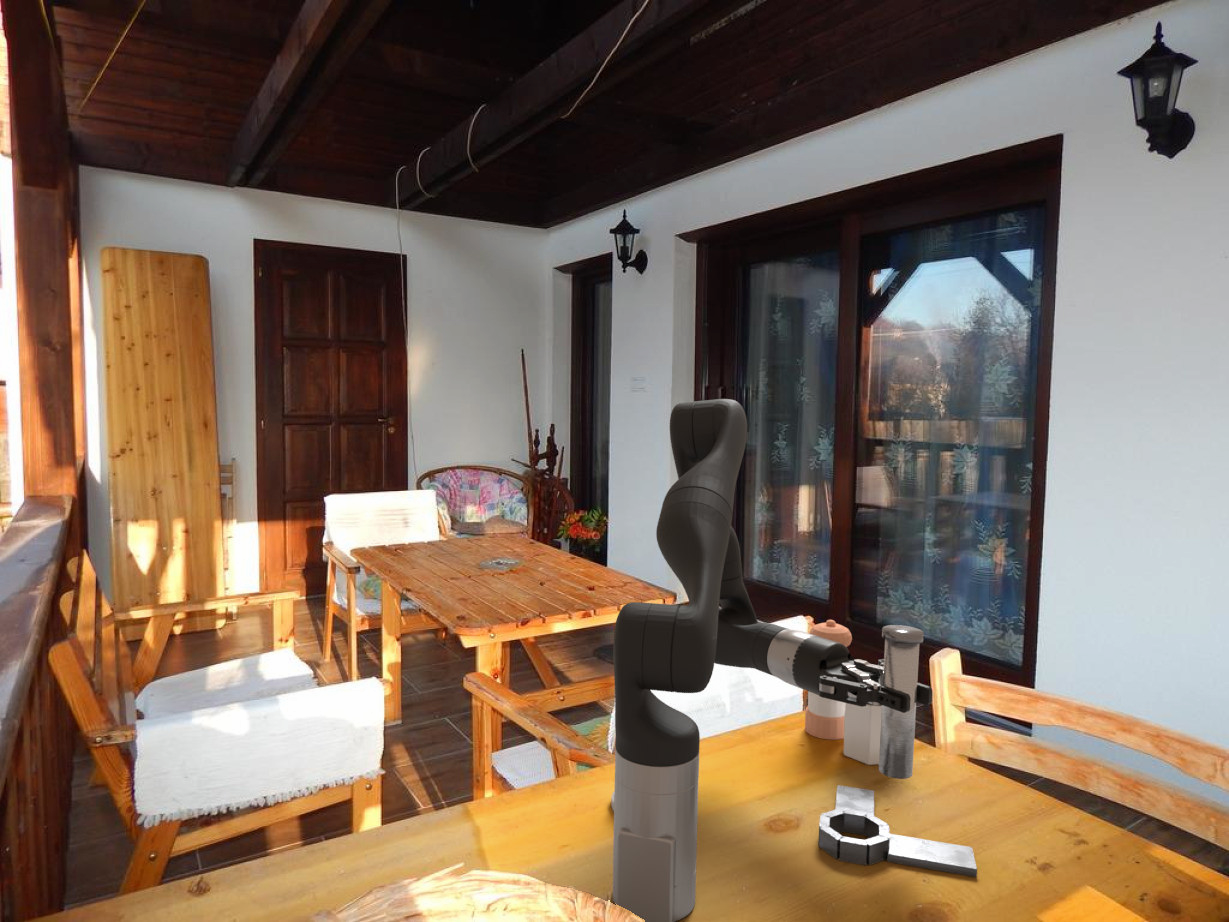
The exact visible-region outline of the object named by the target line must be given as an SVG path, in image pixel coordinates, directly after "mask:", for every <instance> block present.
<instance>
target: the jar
mask: <svg viewBox="0 0 1229 922" xmlns="http://www.w3.org/2000/svg"><path fill="white" fill-rule="evenodd" d="M878 684H880V679H879V683H878ZM881 712H882V705H881V704H879V705H872V704H870V703H868V702H866V706H864V707H860V706H857V705H853V704H848V703H845V714H844V738H843V756H845V757H848V758H850V759H853V760H855V761H857V762H861V763H863V764H865V765H867V766H872V765H874V766H875V765H879V751H880V731H881Z"/></svg>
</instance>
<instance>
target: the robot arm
mask: <svg viewBox="0 0 1229 922" xmlns="http://www.w3.org/2000/svg"><path fill="white" fill-rule="evenodd" d="M747 434H748V421H747V415H746V411H745V410H744V408H743V406H742V405H741V403H739V402H738V401H736V400H734V399H730V398H729V399H728V398H717V399H708V400H707V399H706V400H698V401H696V400H695V401H687V402H681V403H677V404H676V405H675V406H674V407H673V409H672V410H671V413H670V417H669V438H670V445H671V451H672V456H673V461H674V466H675V469H676V475H677V478H678V479H677V480H676V481H675V482H674V483H673V484H672V485H671V486H670V488H669V490H668V491H667V492H666V494H665V496H664V499H663V502H662V505H661V509H660V513H659V517H658V520H657V526H656V530H655V531H656V533H655V535H656V542H657V545H658V548H659V550H660V553H661V554H662V556H663V558H664V560H665V562H666V564H667V566H669V568H670V569H671V571H672V572H673V573H674V575H675V576H676V578H677V580H679V582H680V584H681V585H682V587H683V589H684V592H685V594H686V596H687V598H688V602H689V603H688V604H687V605H686V604H685V605H683V604H682V605H680V604H679V605H678V604H667V603H655V602H654V603H652V602H639V601H638V602H636V601H633V602H631V601H630V602H628V603H626V604H625V605H624V606H622V607H621V609H620V610H619V612H618V615H617V618H616V621H615V625H614V630H613V642H612V643H613V645H612V646H613V648H612V649H613V652H612V653H613V676H614V726H615V727H614V729H615V741H614V742H615V746H614V747H615V748H614V749H615V750H614V751H615V754H614V755H615V759H614V791H615V793H614V811H613V842H612V843H613V846H612V847H613V848H612V849H613V852H612V853H613V854H612V855H613V857H612V900H613V904H614V903H616V904H617V905H619V906H621V907H623V908H625V909H627V910H629V911H631V912H632V913H634V914H635V915H637V916H639V917H640V918H642V919H644V920H645V922H677V921H679V920H682V919H684V918H685V917H686V916H688V915H689V914H691V912H692V911H693V910H694V907H695V904H696V893H697V892H696V888H697V887H696V886H697V885H696V884H697V851H698V850H697V849H698V848H697V847H698V846H697V845H698V811H699V810H698V809H699V808H698V806H699V805H698V804H699V773H700V770H699V769H700V741H701V740H700V739H701V738H700V730H699V727H698V725H697V723H696V722H695V720H694V719H692V717H690V716H689V715H687V714H685V713H684V712H682V711H679V710H678V709H677V708H674V707H671V706H670V705H668V704H667V703H665V702H664V701H662V700H661V699H660V698H658V697H657V696H656V694H654V693H653V692H652V691H656V692H657V691H660V692H669V693H679V694H696V693H701V692H702V691H704V690H705V689H706V688H707V686H708V685H709V683H710V681H711V679H712V676H713V672H714V668H715V665H720V666H726V667H735V668H743V669H755V670H757V671H759V672H762V673H765V674H768V675H770V676H773V677H775V678H777V679H779V680H781V681H782V682H785V683H787V684H789V685H790V686H794V687H797V688H798V689H801V690H804V691H807V692H808V691H809V692H811V693H814V694H817V695H819V696H820V697H823V698H827V699H831V700H836V701H840V702H844V703H848V704H853V705H857V706H860V707H864V706H866V702H868V703H870V704H872V705H879V704H881V705H883V706H886V707H889V708H892V709H894V710H897V711H900V712H902V713H905V712H908V711H909V710H910V700H911V698H910V696H909V694H907V693H904V692H901V691H898V690H895V689H892V688H889V687H886V686H883V673H884V658H882V659H878V664H872V663H870V662H868V661H867V660H863V659H858V658H857V659H854V658H853V656H852V654H851V653H850V650H849V649H848V646H847V647H846V646H844V645H843V644H841V643H838V642H835V641H832V640H828V639H825V638H822V637H819V636H816V635H812V634H809V633H810V632H805V631H803V630H796V629H789V628H786V627H783V626H780V625H776V624H775V623H770V622H758V618H757V616H756V615H757V614H756V612H755V610H754V607H753V604H752V602H751V599H750V596H749V594H748V591H747V588H746V586H745V583H744V581H743V580H744V577H743V568H742V567H743V566H742V558H741V548H740V543H739V540H738V536H737V533H736V532H735V530H734V528H733V526H732V521H733V512H734V502H735V501H734V499H735V493H736V492H735V491H736V486H737V485H736V483H737V480H738V477H739V472H740V468H741V465H742V461H743V457H744V453H745V449H746V444H747V440H748V439H747ZM879 679H880V684H878V683H879ZM932 702H933V688H932V687H931V686H929V685H926V684H922V683H920V682H917V698H916V703H918V704H921V705H925V706H927V705H930V704H932Z"/></svg>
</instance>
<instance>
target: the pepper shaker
mask: <svg viewBox="0 0 1229 922" xmlns="http://www.w3.org/2000/svg"><path fill="white" fill-rule="evenodd" d="M808 633H809V634H812V635H816V636H819V637H822V638H825V639H828V640H832V641H835V642H838V643H841V644H843V645H844V646H846V647H847V648H848V647H849V646H850V645H851V643H852V640H853V637H852V636H853V635H852V633H851V631H850V629H849V628H848V627H845V626H844V625H842V624H839V623H836V621H835V620H833V619H827V620H826V622H821V623H817V624H814V625H813V626H812V627H811V628H810V630H809V632H808ZM807 692H808V693H807V695H808V697H807V698H808V699H807V704H808V705H807V706H806V708H805V713H804V714H805V716H804V719H805V720H804V730H805V732H806V733H807V734H808V735H810V736H813V737H815V738H819V739H823V740H832V741H833V740H842V739H843V740H844V714H845V703H844V702H840V701H836V700H831V699H827V698H823V697H820V696H819V695H817V694H814V693H811V692H809V691H807Z"/></svg>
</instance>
